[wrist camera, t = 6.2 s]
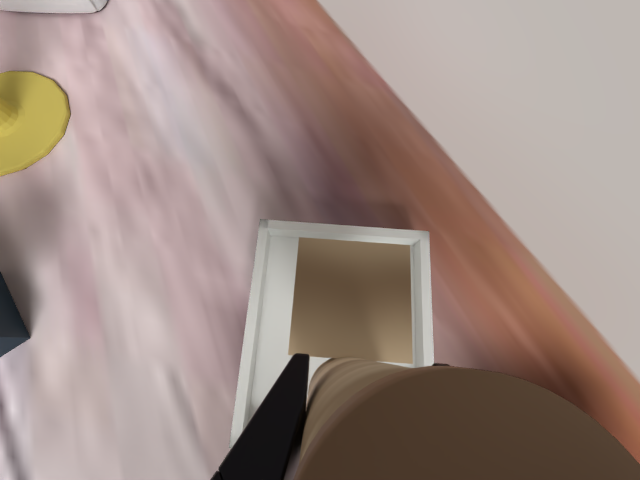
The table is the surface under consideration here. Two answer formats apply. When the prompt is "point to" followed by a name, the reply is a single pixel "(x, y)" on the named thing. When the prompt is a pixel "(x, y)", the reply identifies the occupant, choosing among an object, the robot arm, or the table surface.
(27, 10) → the gravestone
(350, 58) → the table surface
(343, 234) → the tray
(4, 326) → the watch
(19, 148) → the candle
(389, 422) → the tan cylinder with block
